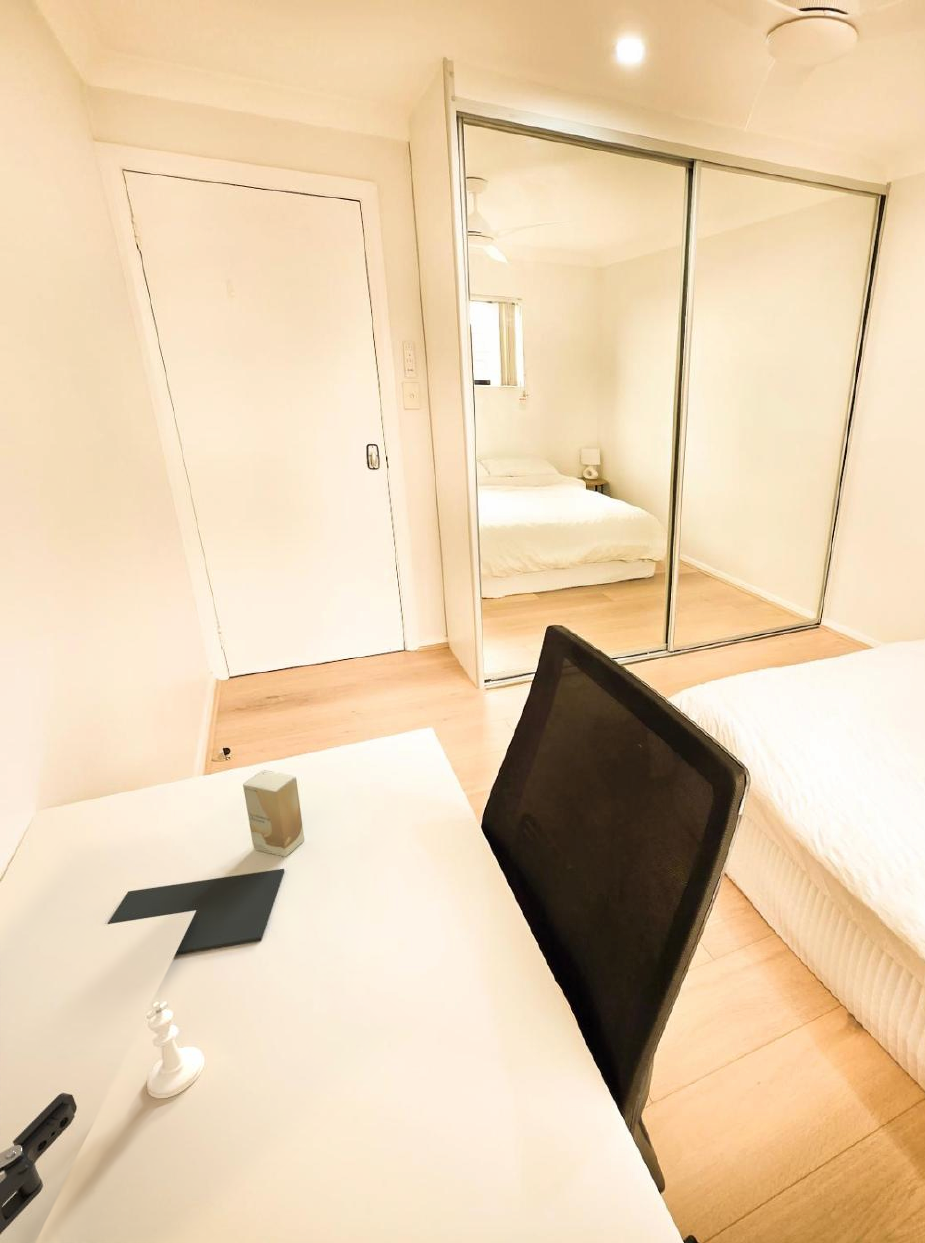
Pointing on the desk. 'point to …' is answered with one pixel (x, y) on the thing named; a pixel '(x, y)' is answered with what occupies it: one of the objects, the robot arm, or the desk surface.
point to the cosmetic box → (274, 812)
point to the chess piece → (171, 1057)
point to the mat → (210, 908)
